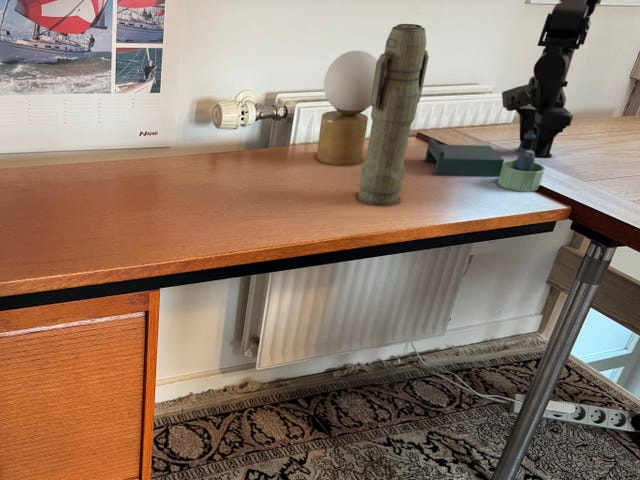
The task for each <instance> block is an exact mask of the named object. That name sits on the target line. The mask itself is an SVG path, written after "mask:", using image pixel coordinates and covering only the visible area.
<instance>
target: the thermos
mask: <svg viewBox="0 0 640 480" xmlns="http://www.w3.org/2000/svg"><path fill="white" fill-rule="evenodd" d="M426 35H427V33H426V28H425V27H422V25H420V24H415V23H398V24H396V26H393V27H392V28H391V31H390V32H389V34H388V36H387V39H386V42H385V45H384V46H385V47H384V52H383V53H381V54H380V56H378V58H377V60H378V61H377V63H376V69H375V76H374V82H373V88H372V94H371V100H370V104H371V106H370V107H372V108H371V112H370V117H371V118H370V119H371V121H372V122H371V127H370V133H369V139H368V143H367V151H366V157H365V162H364V163H363V165H362V167H361V170H360V177H359V182H358V183H359V184H358V187H359V191H358V194H357V198H358V200H359V201H361V202H363V203H365V204H369V205H373V206H391V205H395V204H396V203H398V201H399V198H400V197H399V196H400V192H401V190H402V186H403V181H404V176H405V165H404V162H405V157H406V154H407V153H406V152H407V148H408V141H409V137H410V132H411V127H412V124H413V122H414V120H415V118H416V114H417V109H418V105H419V103H420V99H421V96H422V92H423V87H424V81H425V77H426V73H427V67H428V62H429V57H430V56H429V53H428V50H426V47H427V36H426Z"/></svg>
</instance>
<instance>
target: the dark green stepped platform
mask: <svg viewBox="0 0 640 480" xmlns="http://www.w3.org/2000/svg"><path fill="white" fill-rule="evenodd" d="M424 161H425V162H427V163H429V162H430V163H431V162H432V163H436V164H435V168H434V172H433V173H434V175H435V176H468V177H469V176H471V177H499V176H500V173H501V169H502V165H503V163H504V162H505V159H504V158H503V157H502V156H501V155H499V154H498V152H497V151H496V150H495V149H494V148H492V147H491V145H477V144H471V145H470V144H438V142H437V141H436V140H435V139H434V138H429V139H428V142H427V147H426V152H425V158H424Z"/></svg>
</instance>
